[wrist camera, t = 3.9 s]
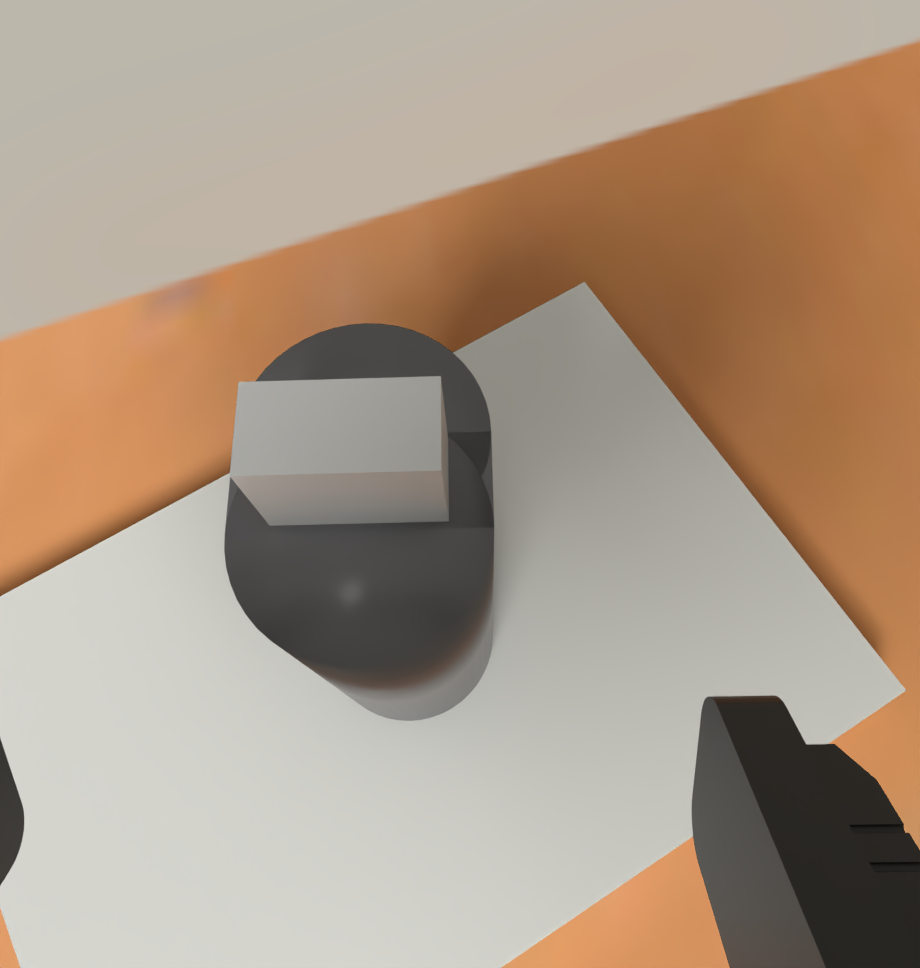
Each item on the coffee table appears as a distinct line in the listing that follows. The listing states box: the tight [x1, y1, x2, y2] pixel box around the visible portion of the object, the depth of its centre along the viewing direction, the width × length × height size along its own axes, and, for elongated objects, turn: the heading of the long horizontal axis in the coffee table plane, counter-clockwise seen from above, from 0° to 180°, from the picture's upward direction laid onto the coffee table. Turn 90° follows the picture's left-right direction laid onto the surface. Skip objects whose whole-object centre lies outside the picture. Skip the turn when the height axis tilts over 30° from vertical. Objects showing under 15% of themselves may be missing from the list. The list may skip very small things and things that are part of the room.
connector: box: [224, 323, 494, 721], centre depth 14 cm, size 5×4×9 cm
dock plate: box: [0, 282, 906, 968], centre depth 18 cm, size 18×12×1 cm, turn 121°
